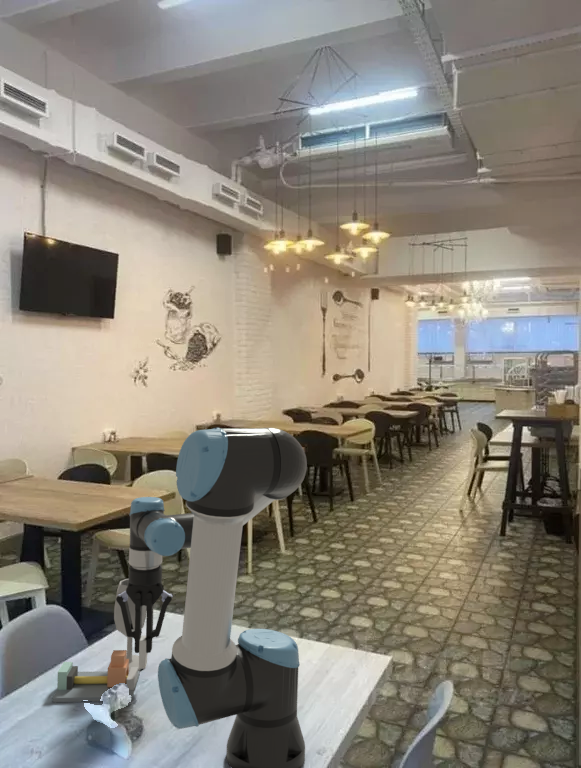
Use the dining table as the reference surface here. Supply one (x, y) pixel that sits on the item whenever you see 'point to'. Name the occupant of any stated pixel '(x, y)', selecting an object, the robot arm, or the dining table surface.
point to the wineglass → (121, 627)
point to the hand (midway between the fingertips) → (142, 665)
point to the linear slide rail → (87, 684)
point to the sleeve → (118, 668)
